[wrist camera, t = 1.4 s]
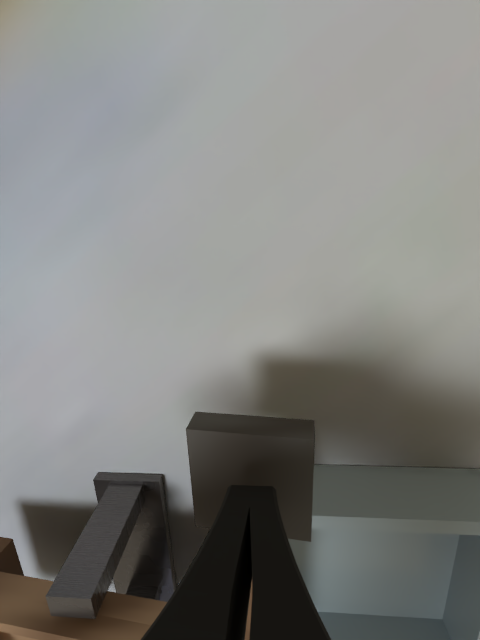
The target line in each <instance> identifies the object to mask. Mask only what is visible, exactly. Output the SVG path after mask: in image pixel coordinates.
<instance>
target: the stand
mask: <svg viewBox="0 0 480 640" xmlns="http://www.w3.org/2000/svg"><path fill="white" fill-rule="evenodd" d="M93 481H94V486H95V491H96V496H97V500H98V505H97V507H96V509H95V510H94V512H93V514H92V516H91V517H90V519H89V521H88V523H87V524H86V526H85V528H84V530H83V531H82V533H81V535H80V537H79V538H78V540H77V542H76V544H75V545H74V547H73V549H72V551H71V552H70V554H69V556H68V558H67V559H66V561H65V563H64V565H63V566H62V568H61V570H60V572H59V573H58V575H57V577H56V579H55V580H54V582H53V584H52V586H51V587H50V589H49V591H48V593H47V594H46V596H45V597H46V600H47V604H48V607H49V610H50V614H51V616H59V617H74V618H89V619H96V617H97V614H98V612H99V609H100V607H101V605H102V602H103V600H104V598H105V595H106V593H107V590H108V588H109V586H110V583H111V581H112V579H114V584H115V589H116V593H120V594H126V595H131V596H137V597H142V598H148V599H153V600H159V601H164V602H168V601H169V599H170V598H171V596H172V595H173V593H174V592H175V590H176V588H177V586H176V578H175V571H174V563H173V555H172V547H171V540H170V532H169V524H168V516H167V509H166V501H165V493H164V485H163V478H162V474H129V473H97V475H96V476H95V478H94V480H93Z"/></svg>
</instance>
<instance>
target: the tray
mask: <svg viewBox="0 0 480 640" xmlns="http://www.w3.org/2000/svg"><path fill="white" fill-rule="evenodd" d="M288 541H289V544H290V546H291V549H292V552H293V555H294V558H295V560H296V563H297V565H298V568H299V570H300V573H301V575H302V578H303V580H304V582H305V585H306V587H307V590H308V592H309V594H310V596H311V599H312V601H313V603H314V605H315V607H316V609H317V612H318V614H319V616H320V618H321V620H322V622H323V624H324V626H325V628H326V630H327V632H328V634H329V636H330V638H331V640H480V469H465V468H426V467H388V466H349V465H314V473H313V503H312V533H311V542H308V541H301V540H294V539H288Z"/></svg>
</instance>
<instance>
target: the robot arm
mask: <svg viewBox="0 0 480 640" xmlns="http://www.w3.org/2000/svg"><path fill="white" fill-rule="evenodd" d="M251 582H252V607H251V623H250V639H249V640H331V638H330V636H329V634H328V632H327V630H326V628H325V626H324V624H323V622H322V620H321V618H320V616H319V614H318V612H317V609H316V607H315V605H314V603H313V601H312V599H311V596H310V594H309V592H308V590H307V587H306V585H305V582H304V580H303V578H302V575H301V573H300V570H299V568H298V565H297V563H296V560H295V558H294V555H293V552H292V549H291V546H290V544H289V541H288V538H287V535H286V532H285V529H284V525H283V522H282V518H281V515H280V510H279V506H278V501H277V494H276V489H275V488H274V487H273V486H249V485H231V486H229V487H228V489H227V492H226V495H225V497H224V500H223V503H222V505H221V507H220V510H219V512H218V514H217V516H216V518H215V521H214V523H213V525H212V527H211V529H210V531H209V533H208V535H207V536H206V538H205V540H204V542H203V544H202V546H201V548H200V550H199V552H198V553H197V555H196V557H195V559H194V560H193V562H192V564H191V565H190V567H189V569H188V570H187V572H186V574H185V576H184V577H183V579H182V581H181V582H180V584H179V585H178V587H177V588H176V590H175V592H174V593H173V595H172V596H171V598H170V599H169V601H168V602H167V604H166V605H165V607H164V608H163V609H162V611H161V612H160V614H159V615H158V617H157V618H156V619H155V621H154V622H153V624H152V625H151V626H150V628H149V629H148V630H147V632H146V633H145V634H144V636H143V637H142V638H141V640H245V632H246V624H247V616H248V607H249V599H250V591H251Z"/></svg>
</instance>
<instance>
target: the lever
mask: <svg viewBox="0 0 480 640" xmlns="http://www.w3.org/2000/svg"><path fill="white" fill-rule="evenodd" d="M186 434H187V444H188V454H189V465H190V475H191V485H192V495H193V505H194V515H195V525H196V526H199V527H206V528H211V527H212V525H213V523H214V521H215V518H216V516H217V514H218V512H219V510H220V507H221V505H222V503H223V500H224V497H225V495H226V492H227V489H228V487H229V486H231V485H249V486H273V487H274V488H275V489H276V494H277V501H278V506H279V510H280V515H281V518H282V522H283V525H284V529H285V532H286V535H287V538H288V539H294V540H301V541H308V542H311V533H312V503H313V473H314V443H315V433H314V421H313V420H300V419H286V418H273V417H259V416H246V415H232V414H219V413H205V412H195V414H194V415H193V417H192V419H191V421H190V423H189V425H188V426H187V428H186ZM53 582H54V581H49V580H43V579H38V578H32V577H27V576H24V574H23V571H22V568H21V565H20V561H19V558H18V555H17V552H16V548H15V545H14V542H13V539H9V538H3V537H0V640H141V638H142V637H143V636H144V634H145V633H146V632H147V630H148V629H149V628H150V626H151V625H152V624H153V622H154V621H155V619H156V618H157V617H158V615H159V614H160V612H161V611H162V609H163V608H164V607H165V605H166V604H167V602H164V601H159V600H153V599H148V598H142V597H137V596H131V595H126V594H120V593H115V592H109V591H107V593H106V595H105V598H104V600H103V602H102V605H101V607H100V609H99V612H98V614H97V617H96V619H89V618H74V617H59V616H51V614H50V610H49V607H48V604H47V600H46V597H45V596H46V594H47V593H48V591H49V589H50V587H51V586H52V584H53ZM251 607H252V582H251V591H250V599H249V607H248V616H247V624H246V632H245V640H249V639H250V623H251Z"/></svg>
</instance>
